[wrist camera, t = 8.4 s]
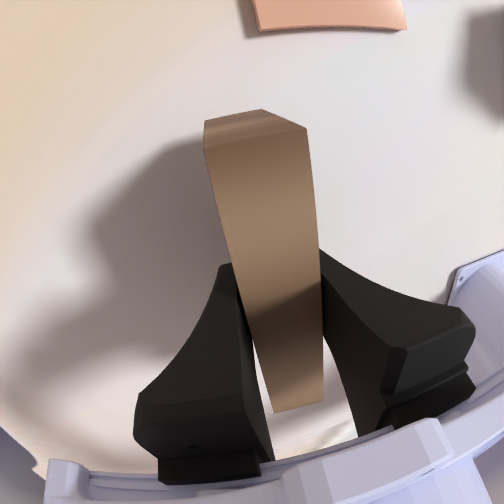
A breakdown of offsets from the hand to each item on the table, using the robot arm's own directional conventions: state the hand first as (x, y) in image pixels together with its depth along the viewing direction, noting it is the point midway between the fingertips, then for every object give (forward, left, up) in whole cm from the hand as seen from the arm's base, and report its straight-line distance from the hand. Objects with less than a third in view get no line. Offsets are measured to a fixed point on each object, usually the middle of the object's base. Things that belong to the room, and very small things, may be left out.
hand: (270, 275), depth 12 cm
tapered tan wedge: (0, 0, -3) cm, 3 cm away
